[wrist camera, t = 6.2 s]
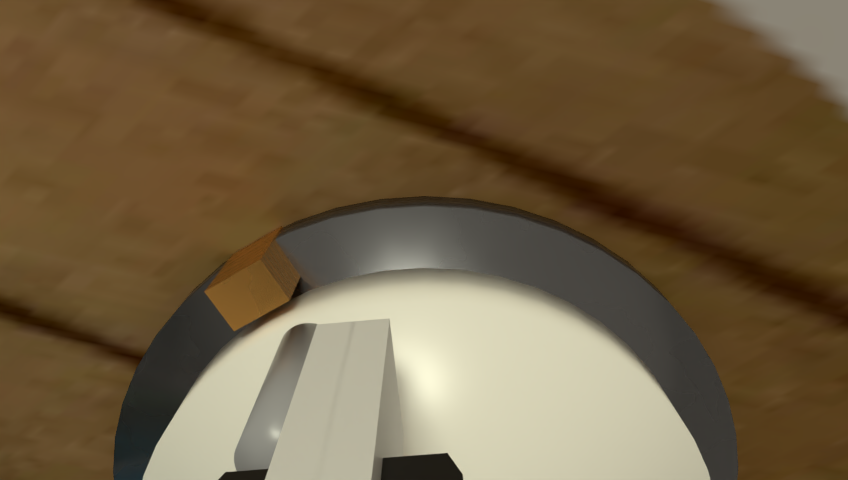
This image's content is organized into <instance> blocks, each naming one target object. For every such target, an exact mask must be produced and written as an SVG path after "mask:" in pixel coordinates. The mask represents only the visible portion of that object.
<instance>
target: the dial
mask: <svg viewBox="0 0 848 480" xmlns="http://www.w3.org/2000/svg"><path fill="white" fill-rule="evenodd" d="M388 318H390V326H391V334H392V343H393V351H394V359H395V367H396V376H397V384H398V392H399V401H400V409H401V417H402V425H403V434H404V446H403V456H413V455H427V454H440V453H448V454H449V456H450V457H451V459H452V460H453V461H454V463H455V464H456V466H457V467H458V468H459V470H460V471H461V473H462V474H463V480H710V476H709V472H708V469H707V467H706V465H705V462H704V460H703V458H702V456H701V453H700V451H699V449H698V447H697V444H696V442H695V440H694V438H693V437H692V435H691V434H690V432H689V430H688V429H687V427H686V426H685V424H684V422H683V421H682V419H681V418H680V416H679V414H678V413H677V411H676V410H675V408H674V406H673V405H672V403H671V402H670V400H669V399H668V397H667V395H666V394H665V392H664V391H663V389H662V388H661V386H660V385H659V383H658V382H657V380H656V378H655V377H654V375H653V374H652V372H651V371H650V369H649V368H648V367H647V366H646V365H645V363H644V362H643V361H642V360H641V359H640V358H639V357H638V356H637V354H636V353H635V352H634V351H633V350H632V349H631V348H630V347H629V345H628V344H627V343H625V342H624V341H623V340H622V339H621V338H619V337H618V336H617V335H616V334H615V333H614V332H612V331H611V330H610V329H609V328H608V327H606V326H605V325H604V324H603V323H602V322H600V321H599V320H597V319H596V318H594V317H592V316H591V315H589V314H588V313H586V312H584V311H583V310H581V309H580V308H578V307H576V306H575V305H573V304H572V303H570V302H568V301H565V300H563V299H561V298H559V297H557V296H554V295H552V294H550V293H548V292H546V291H543V290H541V289H539V288H537V287H533V286H530V285H527V284H524V283H520V282H517V281H514V280H511V279H507V278H504V277H501V276H495V275H490V274H484V273H478V272H472V271H467V270H458V269H438V268H413V269H400V270H386V271H380V272H375V273H370V274H365V275H360V276H354V277H349V278H345V279H342V280H339V281H336V282H333V283H330V284H327V285H324V286H321V287H318V288H315V289H312V290H309V291H307V292H305V293H303V294H301V295H299V296H297V297H295V298H293V299H291V300H290V301H288V302H286V303H284V304H283V305H281V306H279V307H277V308H275V309H274V310H272V311H270V312H268V313H266V314H265V315H263V316H261V317H260V318H258V319H257V320H255V321H254V322H252V323H251V324H249V325H248V326H246V327H245V328H244V329H243V330H242V331H241V332H239V333H238V334H237V335H236V336H235V337H234V338H233V339H231V340H230V341H229V342H228V343H227V344H226V345H225V346H224V347H222V348H221V349H220V351H219V352H218V353H217V354H216V355H215V356H214V358H213V359H212V360H211V361H210V362H209V364H208V365H207V366H206V367H205V368H204V369H203V371H202V372H201V373H200V374H199V376H198V378H197V379H196V381H195V382H194V384H193V386H192V387H191V389H190V391H189V392H188V394H187V395H186V397H185V399H184V400H183V402H182V404H181V405H180V407H179V409H178V410H177V412H176V413H175V415H174V417H173V418H172V420H171V422H170V423H169V425H168V427H167V428H166V430H165V432H164V433H163V435H162V437H161V438H160V440H159V442H158V443H157V445H156V447H155V449H154V452H153V454H152V457H151V459H150V461H149V464H148V466H147V469H146V471H145V473H144V476H143V480H218V479H219V478H220V477H221V476H222V475H223V474H224V473H225V472H233V471H246V470H259V469H269V466H270V463H271V460H272V457H273V454H274V451H275V448H276V445H277V442H278V439H279V436H280V433H281V430H282V427H283V424H284V421H285V418H286V415H287V412H288V409H289V406H290V403H291V400H292V398H293V395H294V392H295V389H296V386H297V383H298V380H299V377H300V374H301V371H302V368H303V365H304V362H305V359H306V356H307V353H308V350H309V347H310V344H311V341H312V338H313V335H314V332H315V329H316V326H317V324H328V323H340V322H352V321H364V320H376V319H388Z"/></svg>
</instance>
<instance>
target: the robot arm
mask: <svg viewBox="0 0 848 480" xmlns="http://www.w3.org/2000/svg"><path fill="white" fill-rule="evenodd" d="M403 446H404V434H403V425H402V417H401V409H400V401H399V392H398V384H397V376H396V367H395V359H394V351H393V343H392V334H391V326H390V318H388V319H376V320H364V321H352V322H340V323H328V324H317V326H316V329H315V332H314V335H313V338H312V341H311V344H310V347H309V350H308V353H307V356H306V359H305V362H304V365H303V368H302V371H301V374H300V377H299V380H298V383H297V386H296V389H295V392H294V395H293V398H292V400H291V403H290V406H289V409H288V412H287V415H286V418H285V421H284V424H283V427H282V430H281V433H280V436H279V439H278V442H277V445H276V448H275V451H274V454H273V457H272V460H271V463H270V466H269V469H259V470H246V471H233V472H225V473H224V474H223V475H222V476H221V477H220V478H219V479H218V480H463V474H462V473H461V471H460V470H459V468H458V467H457V466H456V464H455V463H454V461H453V460H452V459H451V457H450V456H449V454H448V453H440V454H427V455H413V456H403Z"/></svg>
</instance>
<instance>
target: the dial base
mask: <svg viewBox="0 0 848 480" xmlns="http://www.w3.org/2000/svg"><path fill="white" fill-rule="evenodd" d="M413 268H438V269H458V270H467V271H472V272H478V273H484V274H490V275H495V276H501V277H504V278H507V279H511V280H514V281H517V282H520V283H524V284H527V285H530V286H533V287H537V288H539V289H541V290H543V291H546V292H548V293H550V294H552V295H554V296H557V297H559V298H561V299H563V300H565V301H568V302H570V303H572V304H573V305H575V306H576V307H578V308H580V309H581V310H583V311H584V312H586V313H588V314H589V315H591V316H592V317H594V318H596V319H597V320H599V321H600V322H602V323H603V324H604V325H605V326H606V327H608V328H609V329H610V330H611V331H612V332H614V333H615V334H616V335H617V336H618V337H619V338H621V339H622V340H623V341H624V342H625V343H627V344H628V345H629V347H630V348H631V349H632V350H633V351H634V352H635V353H636V354H637V356H638V357H639V358H640V359H641V360H642V361H643V362H644V363H645V365H646V366H647V367H648V368H649V369H650V371H651V372H652V374H653V375H654V377H655V378H656V380H657V382H658V383H659V385H660V386H661V388H662V389H663V391H664V392H665V394H666V395H667V397H668V399H669V400H670V402H671V403H672V405H673V406H674V408H675V410H676V411H677V413H678V414H679V416H680V418H681V419H682V421H683V422H684V424H685V426H686V427H687V429H688V430H689V432H690V434H691V435H692V437H693V438H694V440H695V442H696V444H697V447H698V449H699V451H700V453H701V456H702V458H703V460H704V462H705V465H706V467H707V469H708V472H709V476H710V480H737V475H738V459H737V443H736V432H735V428H734V423H733V419H732V414H731V410H730V406H729V401H728V398H727V396H726V393H725V391H724V388H723V386H722V383H721V381H720V378H719V376H718V373H717V371H716V368H715V366H714V364H713V363H712V361H711V359H710V358H709V356H708V354H707V353H706V351H705V349H704V348H703V346H702V344H701V343H700V341H699V339H698V338H697V336H696V334H695V333H694V332H693V331H692V329H691V328H690V327H689V326H688V325H687V323H686V322H685V321H684V320H683V319H682V317H681V316H680V315H679V314H678V313H677V311H676V310H675V309H674V308H673V307H672V305H671V304H670V303H669V302H668V301H667V299H666V298H665V297H664V296H663V295H662V293H661V292H660V291H659V290H658V289H657V288H656V287H655V286H654V285H653V284H652V283H651V282H650V281H649V280H647V279H646V278H645V277H644V276H643V275H642V274H641V273H640V272H638V271H637V270H636V269H635V268H634V267H633V266H632V265H631V264H629V263H628V262H627V261H626V260H624V259H623V258H621V257H620V256H618V255H617V254H615V253H613V252H612V251H610V250H609V249H607V248H606V247H604V246H603V245H601V244H600V243H598V242H597V241H595V240H594V239H592V238H590V237H588V236H586V235H584V234H582V233H580V232H577V231H575V230H573V229H571V228H569V227H567V226H565V225H563V224H561V223H559V222H557V221H554V220H551V219H548V218H545V217H542V216H539V215H536V214H533V213H530V212H527V211H524V210H521V209H518V208H515V207H510V206H505V205H500V204H494V203H489V202H484V201H478V200H473V199H463V198H446V197H429V196H421V197H407V198H392V199H379V200H374V201H369V202H364V203H359V204H354V205H349V206H344V207H339V208H335V209H332V210H329V211H326V212H323V213H320V214H317V215H314V216H311V217H308V218H305V219H302V220H299V221H296V222H294V223H292V224H290V225H288V226H286V227H282V226H281V227H279V228H278V229H276V230H274V231H273V232H271V233H269V234H267V235H266V236H264V237H262V238H260V239H259V240H257V241H255V242H254V243H252V244H250V245H248V246H247V247H245V248H243V249H241V250H240V251H238V252H236V253H234V254H233V255H232V256H231V257H230V259H229V260H227V261H226V262H224V263H223V264H222V265H221V266H219V267H218V268H217V269H216V270H215V271H214V272H213V273H212V274H211V275H209V276H208V277H207V278H206V279H205V280H204V281H203V282H202V283H201V284H200V285H198V286H197V287H196V288H195V289H194V290H193V291H192V292H191V294H190V295H189V296H188V297H187V298H186V300H185V301H184V302H183V303H182V304H181V306H180V307H179V308H178V309H177V310H176V312H175V313H174V314H173V315H172V317H171V318H170V319H169V320H168V321H167V323H166V324H165V325H164V326H163V328H162V329H161V330H160V331H159V333H158V334H157V335H156V336H155V338H154V340H153V342H152V343H151V345H150V347H149V348H148V350H147V352H146V353H145V355H144V357H143V358H142V360H141V362H140V363H139V365H138V367H137V368H136V371H135V373H134V376H133V378H132V381H131V383H130V386H129V388H128V391H127V394H126V396H125V399H124V401H123V404H122V409H121V413H120V418H119V422H118V427H117V431H116V436H115V450H114V468H113V474H114V480H143V476H144V473H145V471H146V469H147V466H148V464H149V461H150V459H151V457H152V454H153V452H154V449H155V447H156V445H157V443H158V442H159V440H160V438H161V437H162V435H163V433H164V432H165V430H166V428H167V427H168V425H169V423H170V422H171V420H172V418H173V417H174V415H175V413H176V412H177V410H178V409H179V407H180V405H181V404H182V402H183V400H184V399H185V397H186V395H187V394H188V392H189V391H190V389H191V387H192V386H193V384H194V382H195V381H196V379H197V378H198V376H199V374H200V373H201V372H202V371H203V369H204V368H205V367H206V366H207V365H208V364H209V362H210V361H211V360H212V359H213V358H214V356H215V355H216V354H217V353H218V352H219V351H220V349H221V348H222V347H224V346H225V345H226V344H227V343H228V342H229V341H230V340H231V339H233V338H234V337H235V336H236V335H237V334H238V333H239V332H241V331H242V330H243V329H244V328H245V327H246V326H248V325H249V324H251V323H252V322H254V321H255V320H257V319H258V318H260V317H261V316H263V315H265V314H266V313H268V312H270V311H272V310H274V309H275V308H277V307H279V306H281V305H283V304H284V303H286V302H288V301H290V300H291V299H293V298H295V297H297V296H299V295H301V294H303V293H305V292H307V291H309V290H312V289H315V288H318V287H321V286H324V285H327V284H330V283H333V282H336V281H339V280H342V279H345V278H349V277H354V276H360V275H365V274H370V273H375V272H380V271H386V270H400V269H413Z"/></svg>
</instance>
